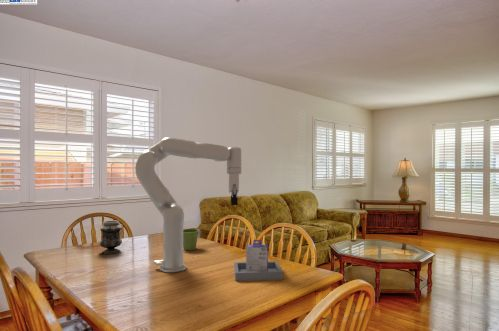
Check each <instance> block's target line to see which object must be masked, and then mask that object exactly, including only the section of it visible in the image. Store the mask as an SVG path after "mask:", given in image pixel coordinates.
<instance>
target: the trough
mask: <svg viewBox="0 0 499 331" xmlns="http://www.w3.org/2000/svg"><path fill="white" fill-rule="evenodd" d="M233 271H234V272H233V273H234V281H235V282H247V281H249V282H251V281H278V280H284V271H283V269H282V267H281V265H280V263H279V262H278V260H277V261H273V260H272V261H269V260H268V271H251V272H246V261H239V262H238V261H236V262H235V261H234V262H233Z"/></svg>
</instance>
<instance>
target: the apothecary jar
mask: <svg viewBox="0 0 499 331" xmlns="http://www.w3.org/2000/svg"><path fill="white" fill-rule="evenodd" d="M99 229H100V231H101V232H102V236H101V240H100V241H99V246H100V247H102V248H104V250H103V251H101V254H102V253H104V254H103V255H114V254H117V253H118V254H119V253H120V252H121V250H120V249H118V247H119V246H121V245H122V244H123V241H122V239H121V236H120V234H121V230H122V229H123V226H122V224H120V221H119V220H104V221H103V223H102V225H101V226H100V228H99ZM113 253H114V254H113Z"/></svg>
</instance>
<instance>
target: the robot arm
mask: <svg viewBox="0 0 499 331" xmlns="http://www.w3.org/2000/svg"><path fill="white" fill-rule="evenodd" d="M169 156H173V157H174V156H175V157H181V158H188V159H203V160H204V159H205V160H214V161H215V162H225V161H226V174H227V175H228V193H229V194H230V203H231V204H230V205H231V206H238V205H239V203H238V202H239V201H238V200H239V198H238V194H239V188H240V175H241V174H242V149H241V147H238V146H237V147H236V146H234V147H233V146H230V147H227V146H224V145H218V144H213V143H206V142H200V141H194V140H188V139H187V140H186V139H183V138H182V139H181V138H176V137H170V136H169V137H164V138H162V139H161V140H160V141H158V142H157V143H156V144H154V145H153V146H151V147H149V148H147V149H146V150H143V151H142V152H141V153H140V154H139V156H138V158H137V160H136V163H135V175H136V178H137V180H138V182H139V183H140V185H141V186H142V188H143V189H144V191H145V192H146V193H147V195H148V196H149V199H150V201H151V202H152V204H154V206H155V208H156V209H157V210H158V211H159V213H160V215H161V216H162V218H163V228H162V230H163V232H162V236H163V237H162V238H163V241H162V242H163V247H162V248H163V249H162V250H163V259H161V260H157V259H155V260H154V262H153V265H155V266H160V267H159V270H160V271H161V272H164V273H179V272H182V271H184V270H186V269H187V264H186V263H184V247H183V229H184V224H185V223H184V222H185V221H184V220H185V212H184V209H183V208H182V206H181V205H179V204H178V203H177V201H176V199H175V197H173V195H172V194H171V193H170V190H169V189H168V187H166V186H165V184H164V183H163V182H162V180H161V179H160V177H159V176H158V174H157V172H156V169H155V167H156V165H158V163H160V162H162V161H163V160H164V159H166V158H167V157H169Z"/></svg>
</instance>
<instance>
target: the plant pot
mask: <svg viewBox="0 0 499 331" xmlns="http://www.w3.org/2000/svg"><path fill="white" fill-rule="evenodd" d="M199 232H200V229H198V228H185V229H184V228H183V251H194V250H196V249H197V242H198V235H199Z"/></svg>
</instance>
